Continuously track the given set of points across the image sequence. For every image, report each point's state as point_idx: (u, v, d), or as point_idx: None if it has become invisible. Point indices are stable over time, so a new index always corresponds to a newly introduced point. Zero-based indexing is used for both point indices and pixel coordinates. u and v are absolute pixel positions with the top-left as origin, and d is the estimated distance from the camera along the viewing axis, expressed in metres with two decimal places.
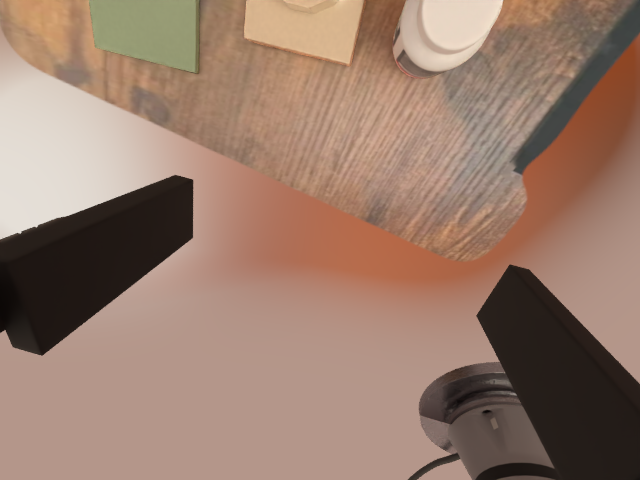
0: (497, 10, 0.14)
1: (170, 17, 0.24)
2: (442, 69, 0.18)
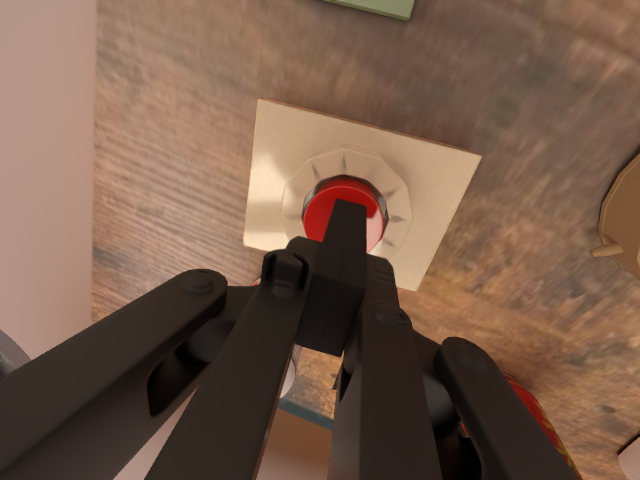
0: None
1: None
2: None
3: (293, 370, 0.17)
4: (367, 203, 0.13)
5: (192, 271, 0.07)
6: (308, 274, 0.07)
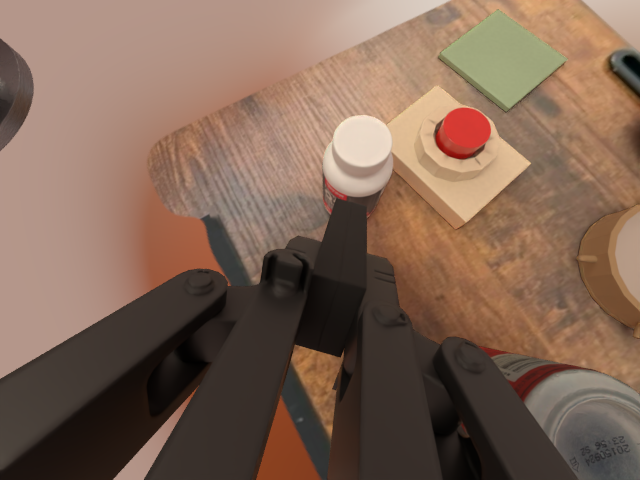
0: (343, 156, 0.18)
1: (479, 61, 0.31)
2: (328, 145, 0.21)
3: (388, 179, 0.21)
4: (486, 123, 0.24)
5: (192, 271, 0.07)
6: (308, 274, 0.07)
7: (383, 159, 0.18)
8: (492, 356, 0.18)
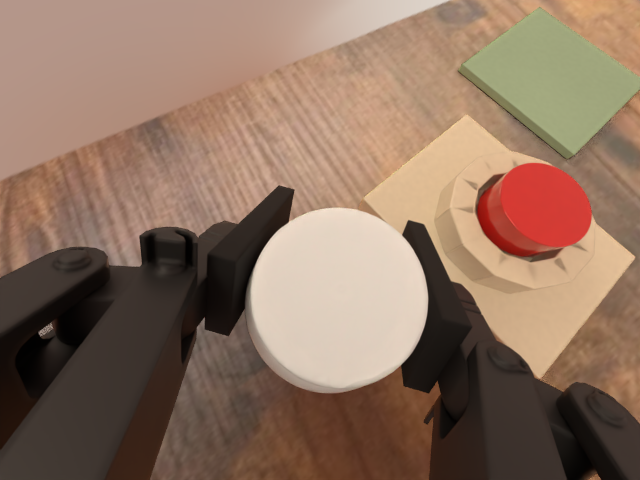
0: (277, 351, 0.06)
1: (521, 80, 0.20)
2: None
3: None
4: (580, 196, 0.12)
5: (64, 251, 0.06)
6: (193, 249, 0.06)
7: None
8: None
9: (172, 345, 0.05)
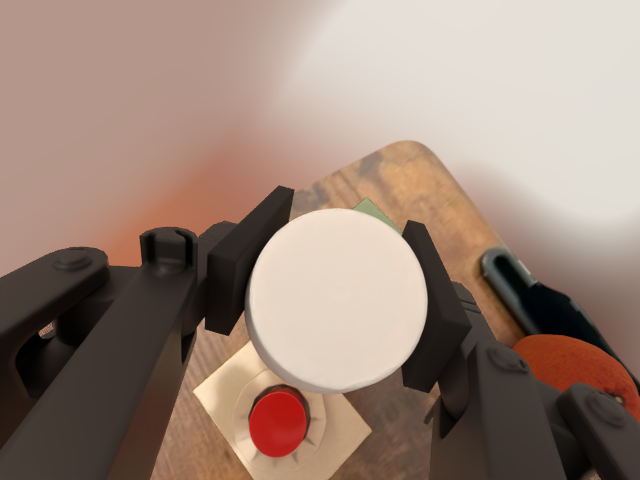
0: (276, 352, 0.06)
1: None
2: None
3: None
4: (301, 418, 0.20)
5: (64, 250, 0.06)
6: (193, 248, 0.06)
7: (405, 360, 0.06)
8: None
9: (172, 345, 0.05)
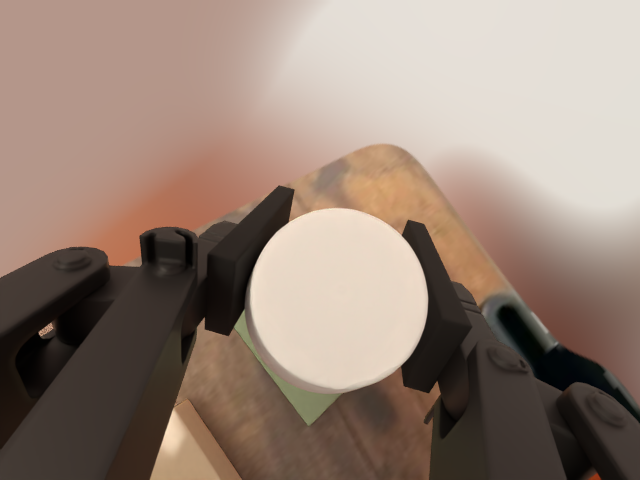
0: (277, 351, 0.06)
1: None
2: None
3: None
4: None
5: (64, 251, 0.06)
6: (193, 249, 0.06)
7: (405, 360, 0.06)
8: None
9: (172, 345, 0.05)
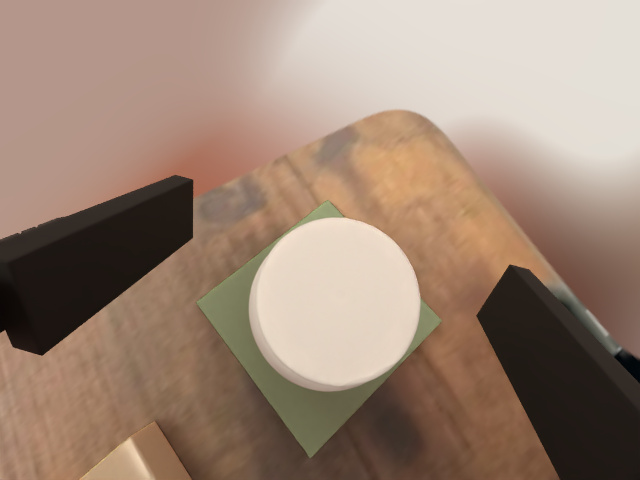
0: (281, 351, 0.06)
1: None
2: (264, 260, 0.09)
3: None
4: None
5: None
6: None
7: None
8: None
9: None
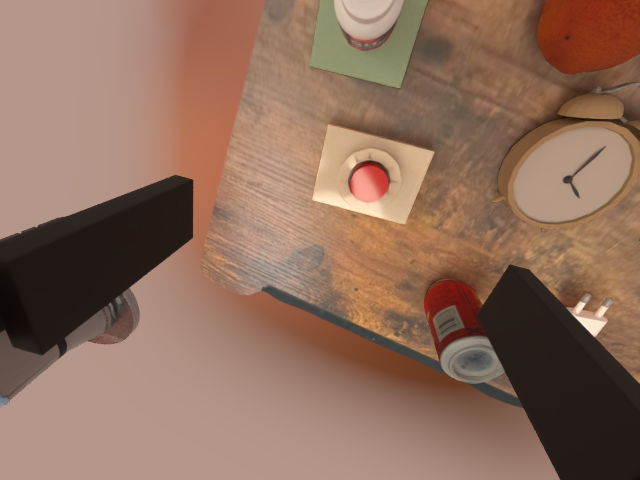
0: (362, 16, 0.19)
1: (349, 48, 0.29)
2: (334, 0, 0.21)
3: None
4: (381, 173, 0.29)
5: None
6: None
7: None
8: (439, 311, 0.34)
9: None
